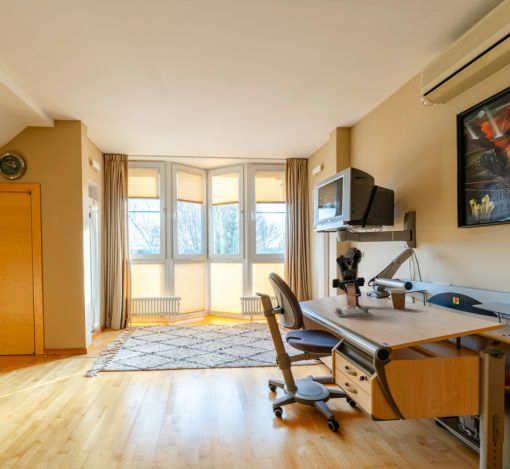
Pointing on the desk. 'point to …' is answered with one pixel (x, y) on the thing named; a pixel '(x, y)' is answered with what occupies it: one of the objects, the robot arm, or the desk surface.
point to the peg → (351, 295)
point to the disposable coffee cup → (398, 297)
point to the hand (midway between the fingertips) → (351, 294)
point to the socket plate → (352, 312)
